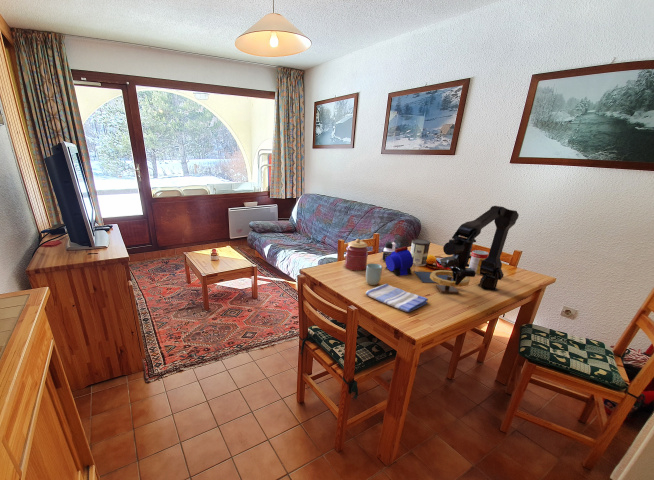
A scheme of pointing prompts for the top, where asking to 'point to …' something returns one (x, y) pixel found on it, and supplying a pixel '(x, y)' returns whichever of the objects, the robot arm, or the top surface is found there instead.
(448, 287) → the peg stand
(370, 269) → the cup
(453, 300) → the top surface
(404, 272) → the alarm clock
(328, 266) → the top surface
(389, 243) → the medicine bottle
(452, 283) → the hoop
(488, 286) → the robot arm
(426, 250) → the coffee can
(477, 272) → the canned food
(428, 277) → the felt mat
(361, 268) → the kitchen canister
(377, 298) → the dish towel
